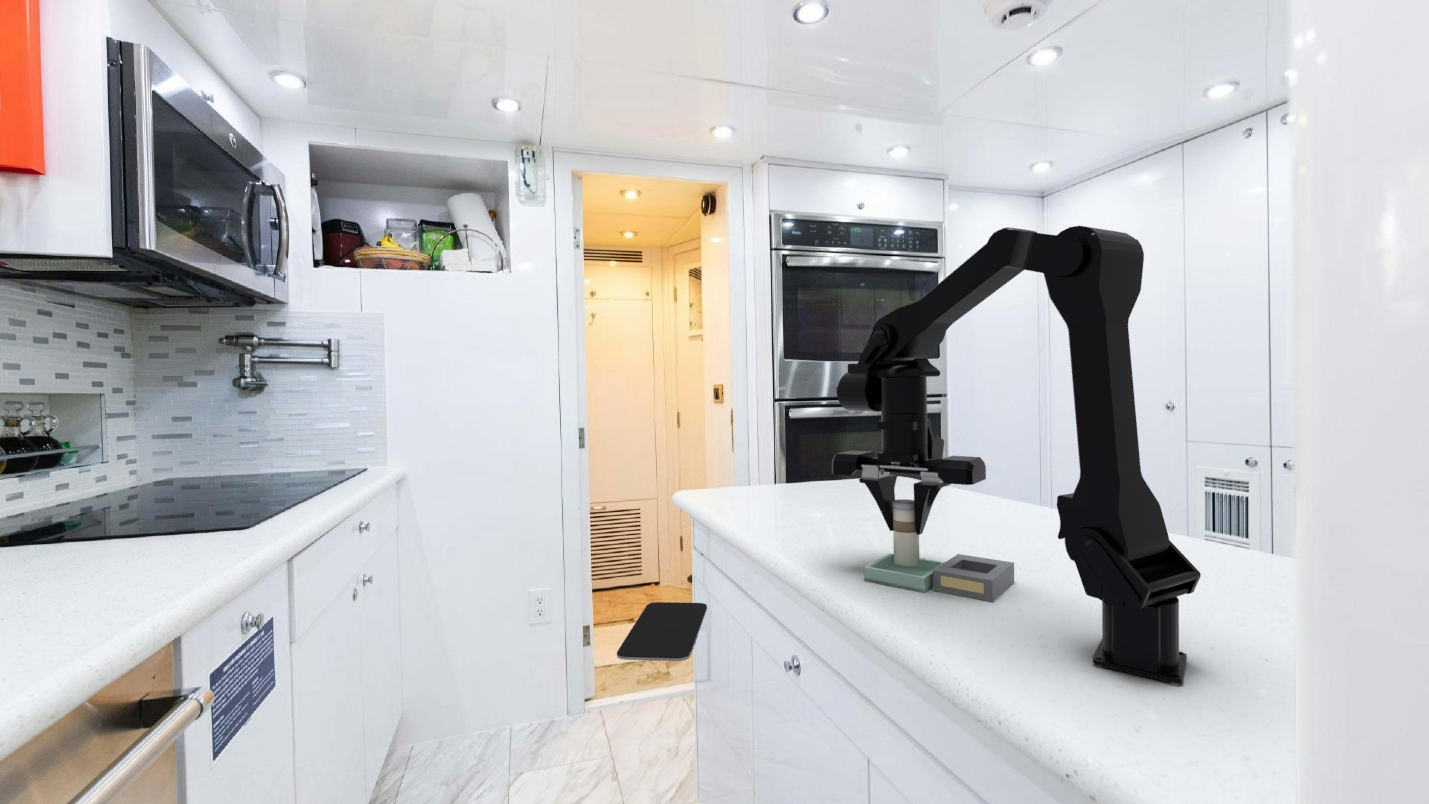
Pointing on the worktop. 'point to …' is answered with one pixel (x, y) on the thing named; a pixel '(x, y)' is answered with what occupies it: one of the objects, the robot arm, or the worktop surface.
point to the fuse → (905, 533)
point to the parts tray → (902, 573)
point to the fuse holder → (974, 577)
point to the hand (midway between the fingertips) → (905, 532)
